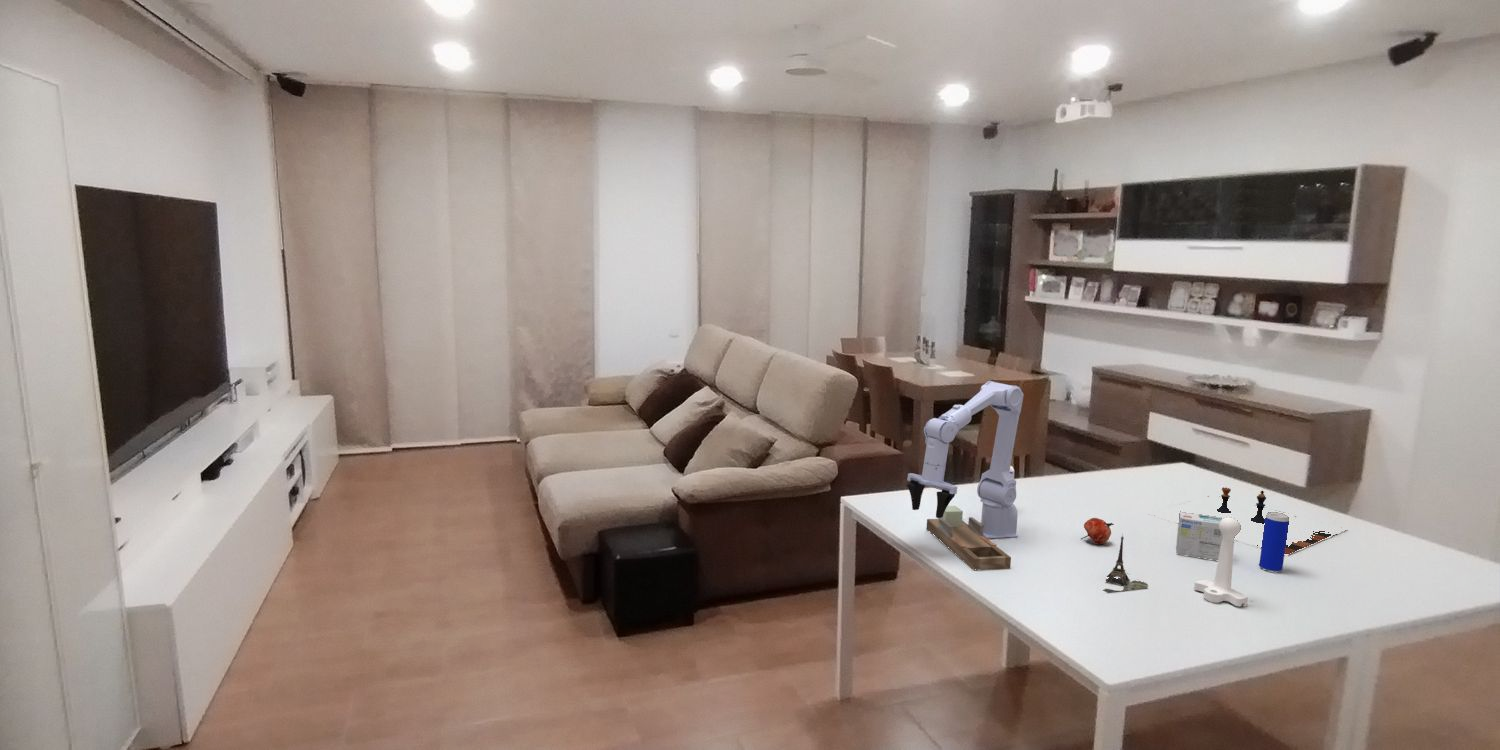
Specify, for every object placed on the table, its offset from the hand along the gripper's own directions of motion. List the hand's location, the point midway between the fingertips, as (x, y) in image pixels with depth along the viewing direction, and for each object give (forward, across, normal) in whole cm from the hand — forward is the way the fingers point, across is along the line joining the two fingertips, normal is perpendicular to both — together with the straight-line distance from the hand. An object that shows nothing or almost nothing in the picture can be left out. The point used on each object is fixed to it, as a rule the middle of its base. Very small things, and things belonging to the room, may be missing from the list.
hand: (927, 513), depth 217 cm
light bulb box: (+3, +48, +59) cm, 76 cm away
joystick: (+6, +62, +32) cm, 70 cm away
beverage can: (+2, +65, +63) cm, 90 cm away
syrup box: (+5, -5, +48) cm, 49 cm away
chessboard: (-1, +48, +100) cm, 111 cm away
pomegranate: (+5, +26, +46) cm, 53 cm away
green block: (+6, -4, +18) cm, 19 cm away
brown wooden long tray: (+9, +5, +13) cm, 17 cm away
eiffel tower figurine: (+8, +43, +23) cm, 49 cm away
